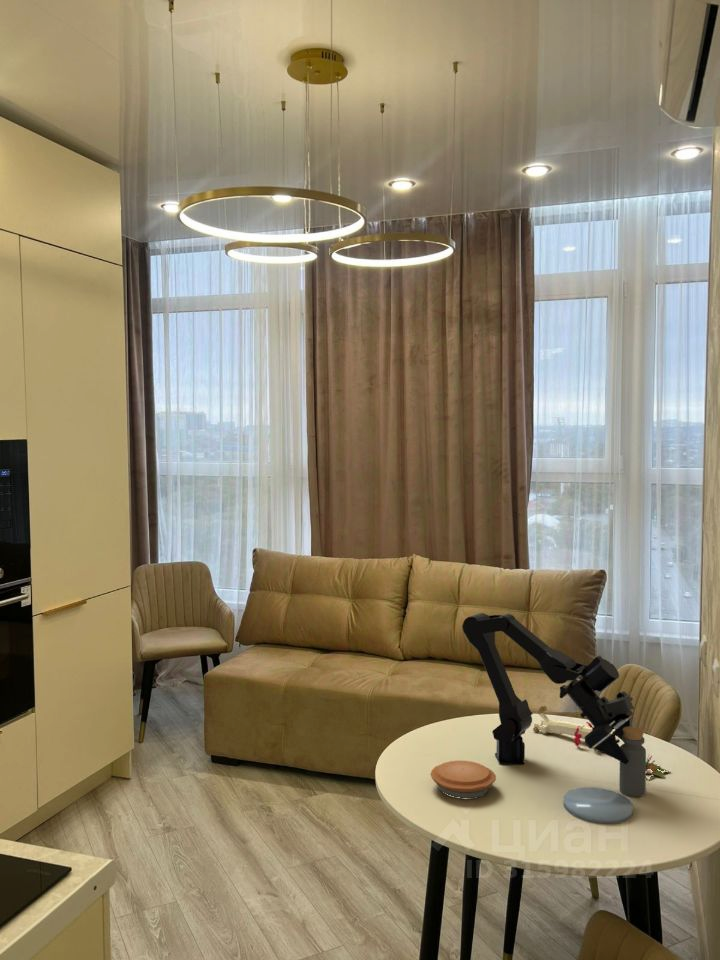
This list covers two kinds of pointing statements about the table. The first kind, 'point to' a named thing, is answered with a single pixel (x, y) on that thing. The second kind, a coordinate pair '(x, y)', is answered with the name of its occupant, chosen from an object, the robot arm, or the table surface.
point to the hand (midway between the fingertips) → (633, 756)
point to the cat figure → (563, 727)
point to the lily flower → (654, 769)
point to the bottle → (633, 763)
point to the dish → (598, 805)
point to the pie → (463, 778)
